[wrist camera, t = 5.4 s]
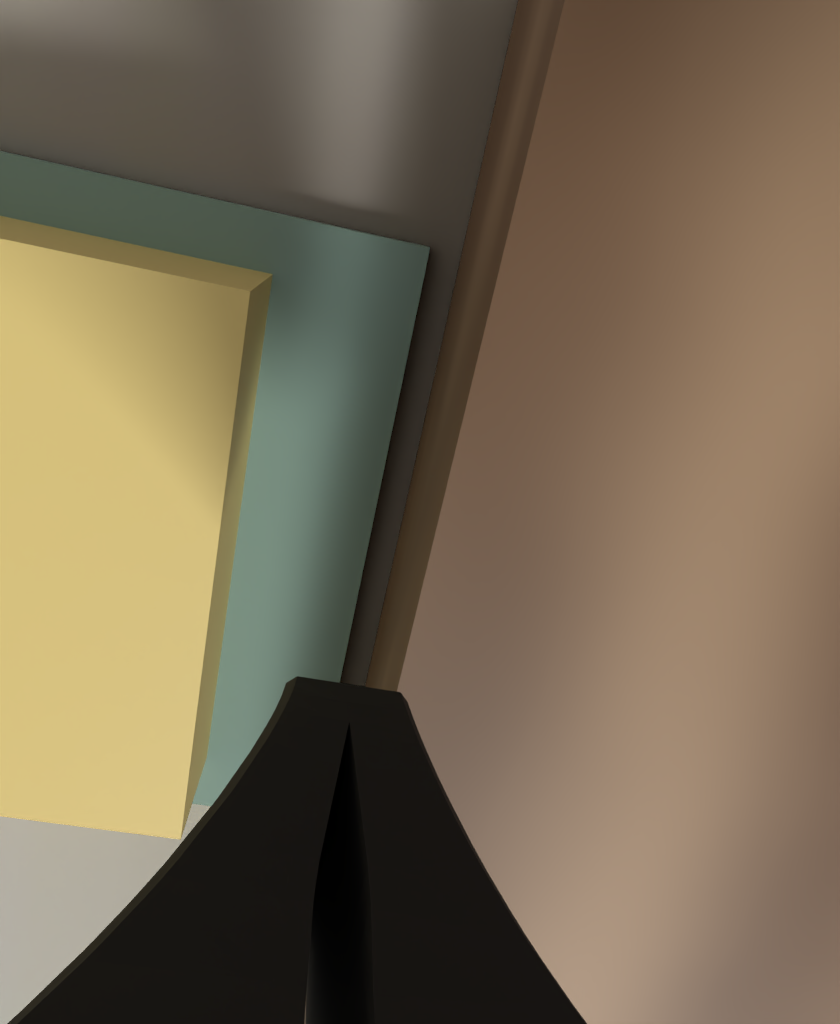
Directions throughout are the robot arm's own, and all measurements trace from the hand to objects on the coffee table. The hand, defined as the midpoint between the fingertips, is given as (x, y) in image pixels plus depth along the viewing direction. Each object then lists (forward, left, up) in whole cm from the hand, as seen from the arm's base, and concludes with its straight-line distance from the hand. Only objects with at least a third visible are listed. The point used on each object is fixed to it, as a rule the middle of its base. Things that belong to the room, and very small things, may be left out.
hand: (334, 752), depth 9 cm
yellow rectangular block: (+5, 0, -2) cm, 6 cm away
